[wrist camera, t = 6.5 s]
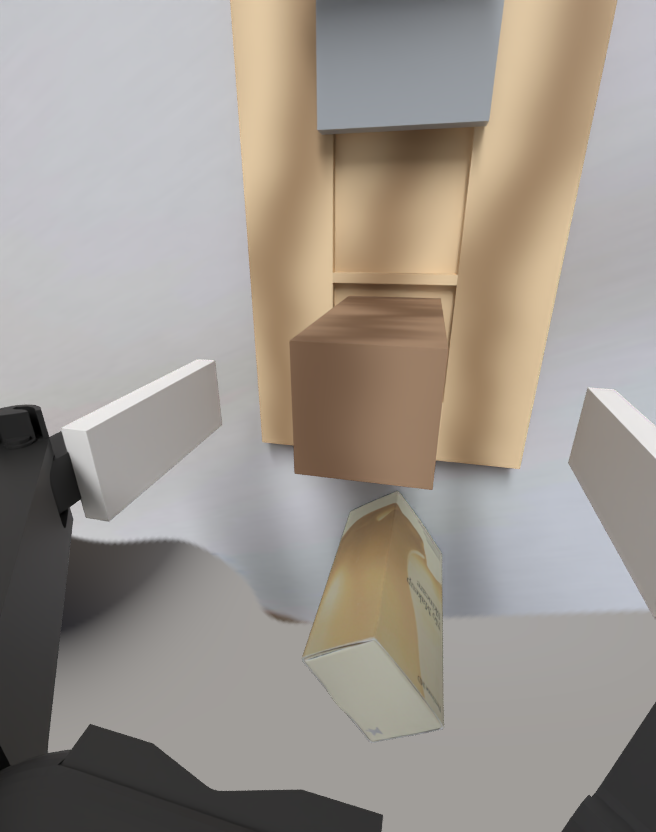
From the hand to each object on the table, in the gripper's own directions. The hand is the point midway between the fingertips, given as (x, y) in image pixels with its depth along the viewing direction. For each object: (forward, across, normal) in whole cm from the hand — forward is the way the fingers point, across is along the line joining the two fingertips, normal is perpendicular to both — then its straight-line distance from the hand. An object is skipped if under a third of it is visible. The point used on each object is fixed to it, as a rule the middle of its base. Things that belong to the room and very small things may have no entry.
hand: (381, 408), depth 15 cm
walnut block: (+10, +1, 0) cm, 10 cm away
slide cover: (+9, +1, -14) cm, 16 cm away
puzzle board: (+11, +1, -6) cm, 12 cm away
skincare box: (+11, 0, +14) cm, 18 cm away
